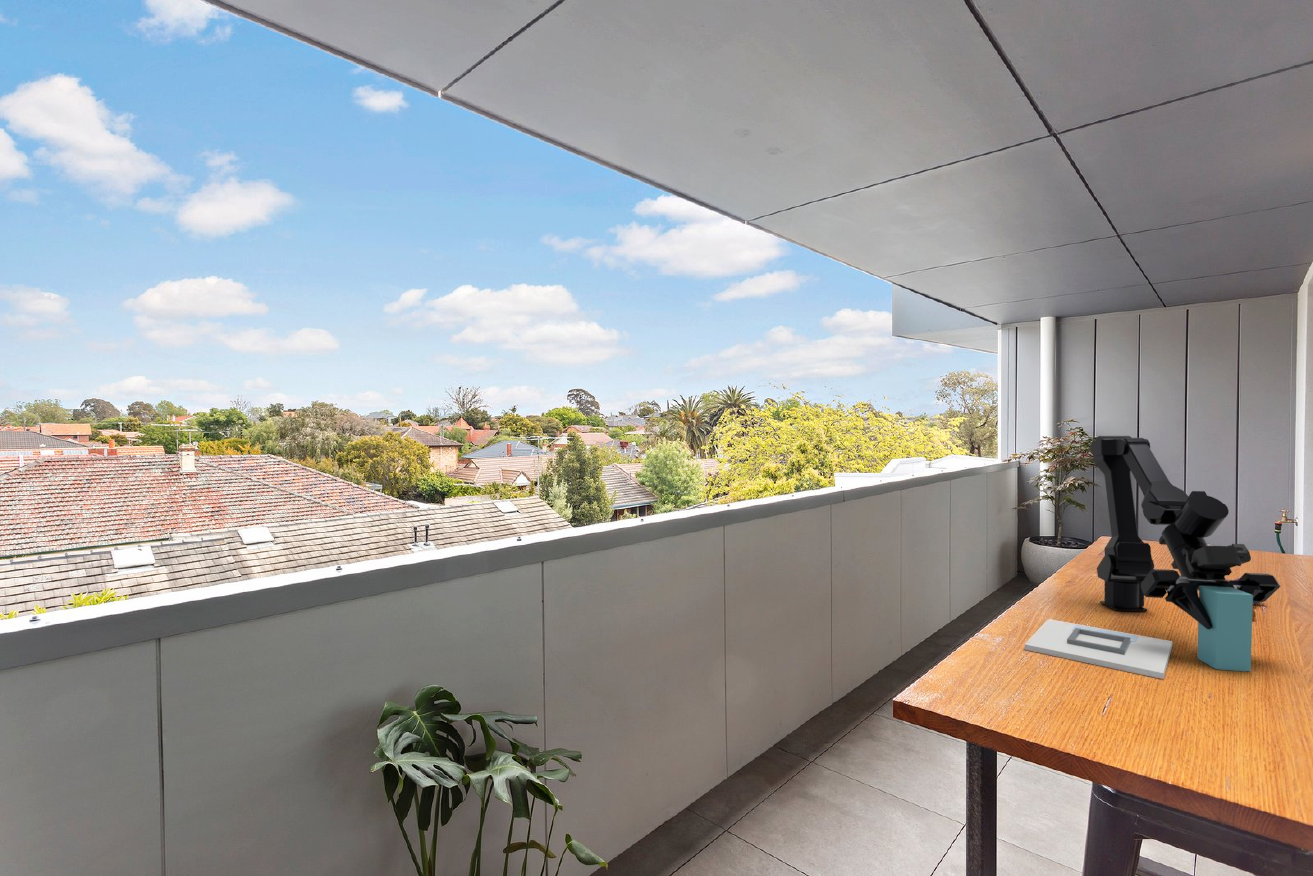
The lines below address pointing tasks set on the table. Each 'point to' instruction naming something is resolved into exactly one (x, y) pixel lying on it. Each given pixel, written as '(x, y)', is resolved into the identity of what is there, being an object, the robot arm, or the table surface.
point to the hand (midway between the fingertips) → (1229, 629)
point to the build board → (1102, 647)
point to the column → (1226, 628)
